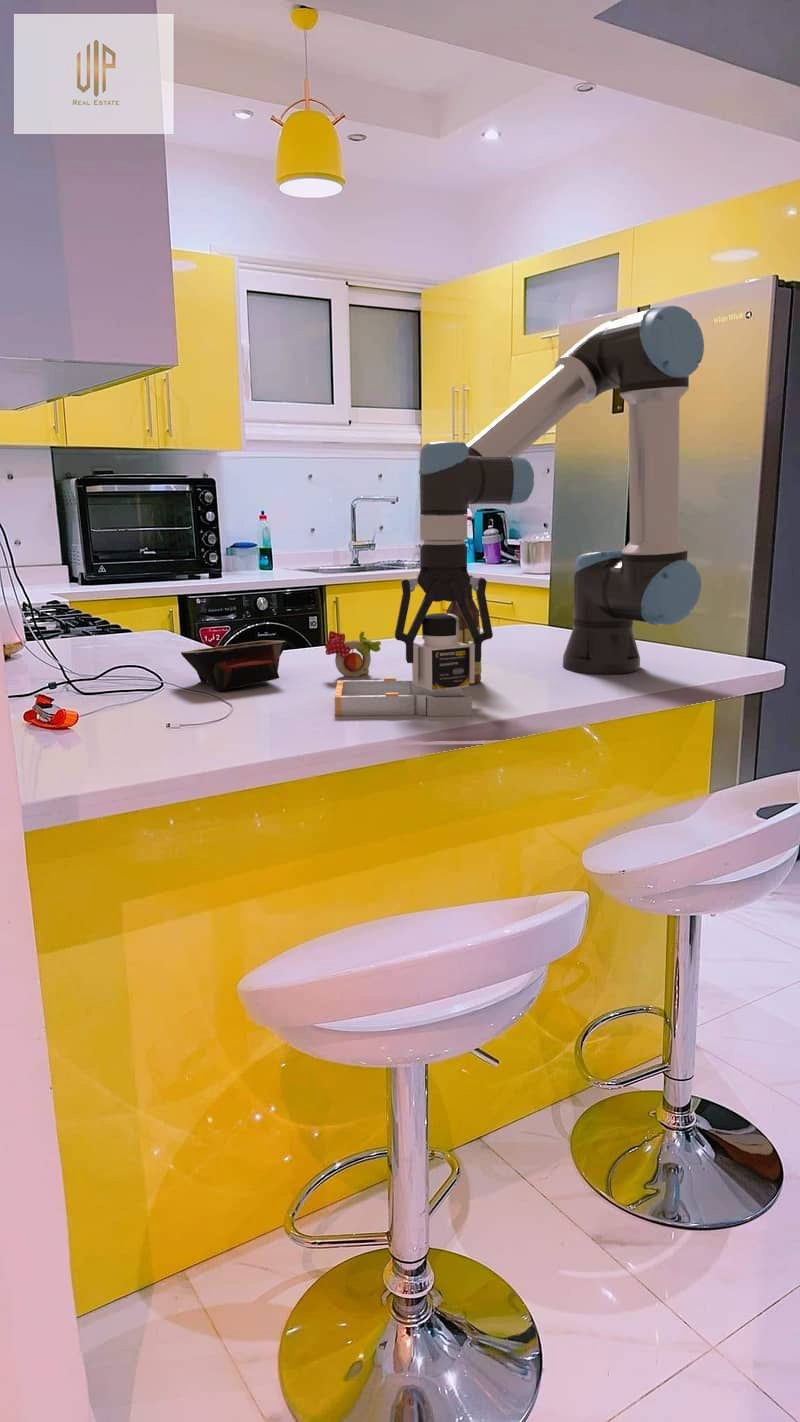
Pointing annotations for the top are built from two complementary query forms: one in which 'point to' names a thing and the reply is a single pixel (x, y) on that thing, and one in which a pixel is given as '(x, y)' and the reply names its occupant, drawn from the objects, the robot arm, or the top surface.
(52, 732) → the top surface
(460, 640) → the sauce bottle
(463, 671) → the medicine bottle
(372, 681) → the keyhole rails
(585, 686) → the top surface
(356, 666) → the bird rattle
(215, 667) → the baking dish
